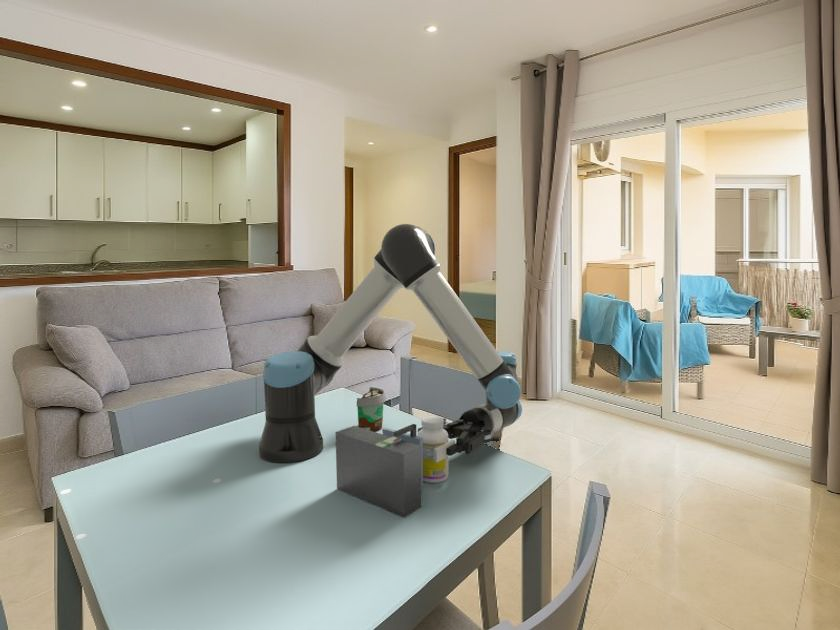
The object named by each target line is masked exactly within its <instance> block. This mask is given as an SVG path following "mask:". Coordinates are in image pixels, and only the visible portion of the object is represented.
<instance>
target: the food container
mask: <svg viewBox="0 0 840 630" xmlns="http://www.w3.org/2000/svg"><path fill="white" fill-rule="evenodd" d="M386 400H387V397H386V393H385V391H384V389H382V388H379V387H373V386H369V390H368V392H366V393H364V394H363V395H362V397H356V407H357V423H358V426H357V427H360V428H363V429H366V430H370V431H373V432H376V433H378V432H379V431H381V430H383V418H384V404H385V402H386Z"/></svg>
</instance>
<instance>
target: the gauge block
mask: <svg viewBox="0 0 840 630" xmlns="http://www.w3.org/2000/svg"><path fill="white" fill-rule="evenodd" d="M335 461H336V465H335V466H336V468H335V469H336V490H338V491H340V492H343V493H345V494H347V495H350V496H352V497H355V498H357V499H359V500H361V501H363V502H367V503H369V504H371V505H373V506H376V507H378V508H380V509H383V510H385V511H386V512H390V513H392V514H394V515H397V516H399V517H402V518H406V517H407V516H410V515H411V514H412V513H414V512H416V511H417V510H419V509H420V508H422V486H421V446H420V445H416V444H413V443H410V442H406V441H403V440H401V439H400V438H396V437H390V436H386V435H383V433H379V432H373V431H370V430H366V429H363V428H360V427H358V426H356V425H352V426H349V427H346V428H343V429H341V430H338V431H336V432H335Z"/></svg>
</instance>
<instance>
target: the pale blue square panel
mask: <svg viewBox="0 0 840 630" xmlns="http://www.w3.org/2000/svg"><path fill="white" fill-rule="evenodd" d="M382 434H383V435H386V436H390V437H396V438H400V439H401V440H403V441H406V442H410V443H413V444H416V445H420V446H421V487H423V486H424V481H423V438H421V437H418V436H417V424H415V423H412V424H410V425H407V426H405V427H402V428H400V429H393V428H389V427H384V428H383V427H382Z"/></svg>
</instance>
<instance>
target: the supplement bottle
mask: <svg viewBox="0 0 840 630" xmlns="http://www.w3.org/2000/svg"><path fill="white" fill-rule="evenodd" d="M420 424H421V426H422V427H423V429H421V430H420V431H419V432H418V431H417V433H416V436H418V437H421V438H423V483H427V484H428V483H430V484H438V483H443V482H444V481H446V480H447V479H448V477H449V456H448V457H447V458H445V459H443V460H441V461H439V462H437V463H436V462H434V449H435V448H437V447H439V446H441V445H443V444H445V443H447V442H449V438H448V433H447V431H446V430H444V429H443V425H444V420H443V417H442V416H435V415H429V416H424V417H422V418H421V423H420Z"/></svg>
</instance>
